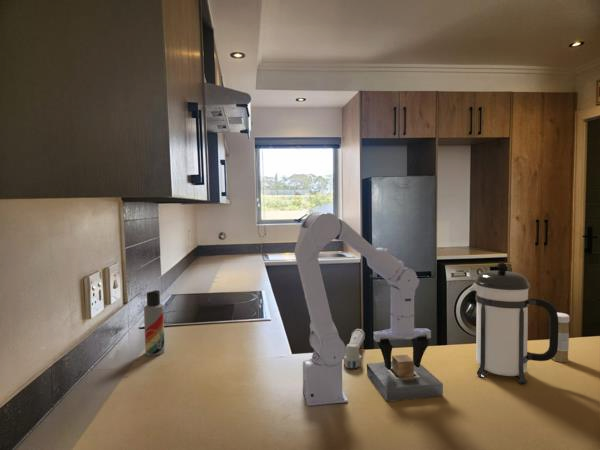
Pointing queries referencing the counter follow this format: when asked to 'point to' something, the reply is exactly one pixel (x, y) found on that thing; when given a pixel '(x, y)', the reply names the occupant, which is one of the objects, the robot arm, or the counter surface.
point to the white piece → (354, 349)
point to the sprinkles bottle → (562, 338)
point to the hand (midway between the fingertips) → (402, 366)
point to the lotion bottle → (154, 324)
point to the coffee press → (507, 324)
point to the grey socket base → (404, 383)
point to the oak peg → (402, 366)
